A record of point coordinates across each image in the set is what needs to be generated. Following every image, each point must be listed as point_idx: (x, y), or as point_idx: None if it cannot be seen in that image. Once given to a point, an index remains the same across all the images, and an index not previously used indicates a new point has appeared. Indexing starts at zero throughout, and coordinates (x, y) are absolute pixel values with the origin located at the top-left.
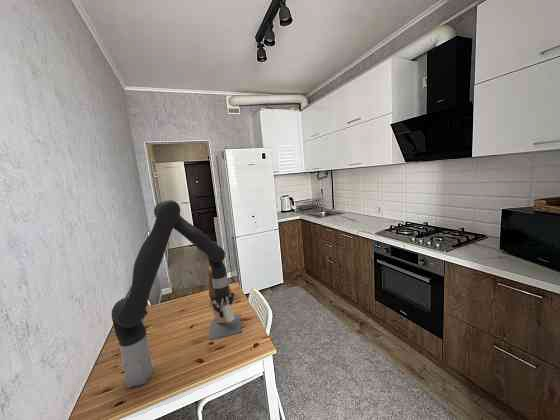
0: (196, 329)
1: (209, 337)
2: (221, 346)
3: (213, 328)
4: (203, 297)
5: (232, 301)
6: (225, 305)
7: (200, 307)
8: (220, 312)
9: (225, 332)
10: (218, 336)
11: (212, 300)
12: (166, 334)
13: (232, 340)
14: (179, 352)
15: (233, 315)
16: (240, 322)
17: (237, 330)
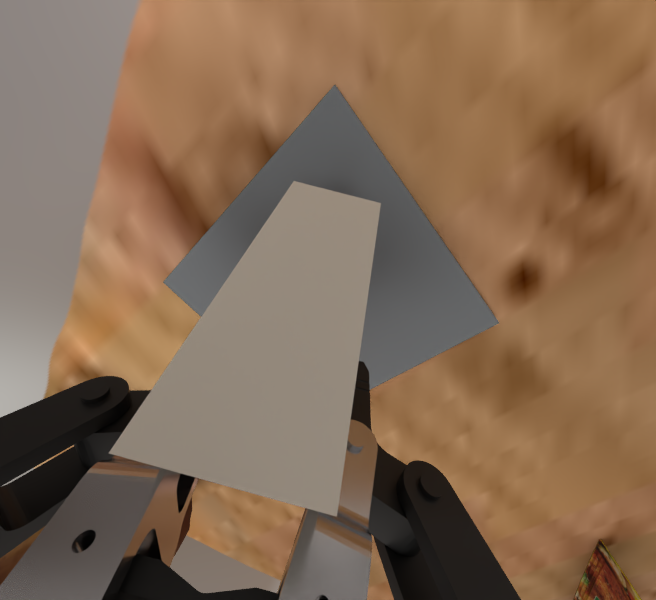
0: (407, 441)
1: (478, 329)
2: (563, 161)
3: (378, 361)
4: (192, 525)
5: (20, 411)
6: (260, 495)
7: (251, 505)
8: (366, 421)
9: (393, 247)
10: (455, 271)
11: (188, 507)
12: (478, 528)
13: (464, 107)
14: (632, 415)
15: (278, 208)
16: (234, 204)
17: (334, 150)
